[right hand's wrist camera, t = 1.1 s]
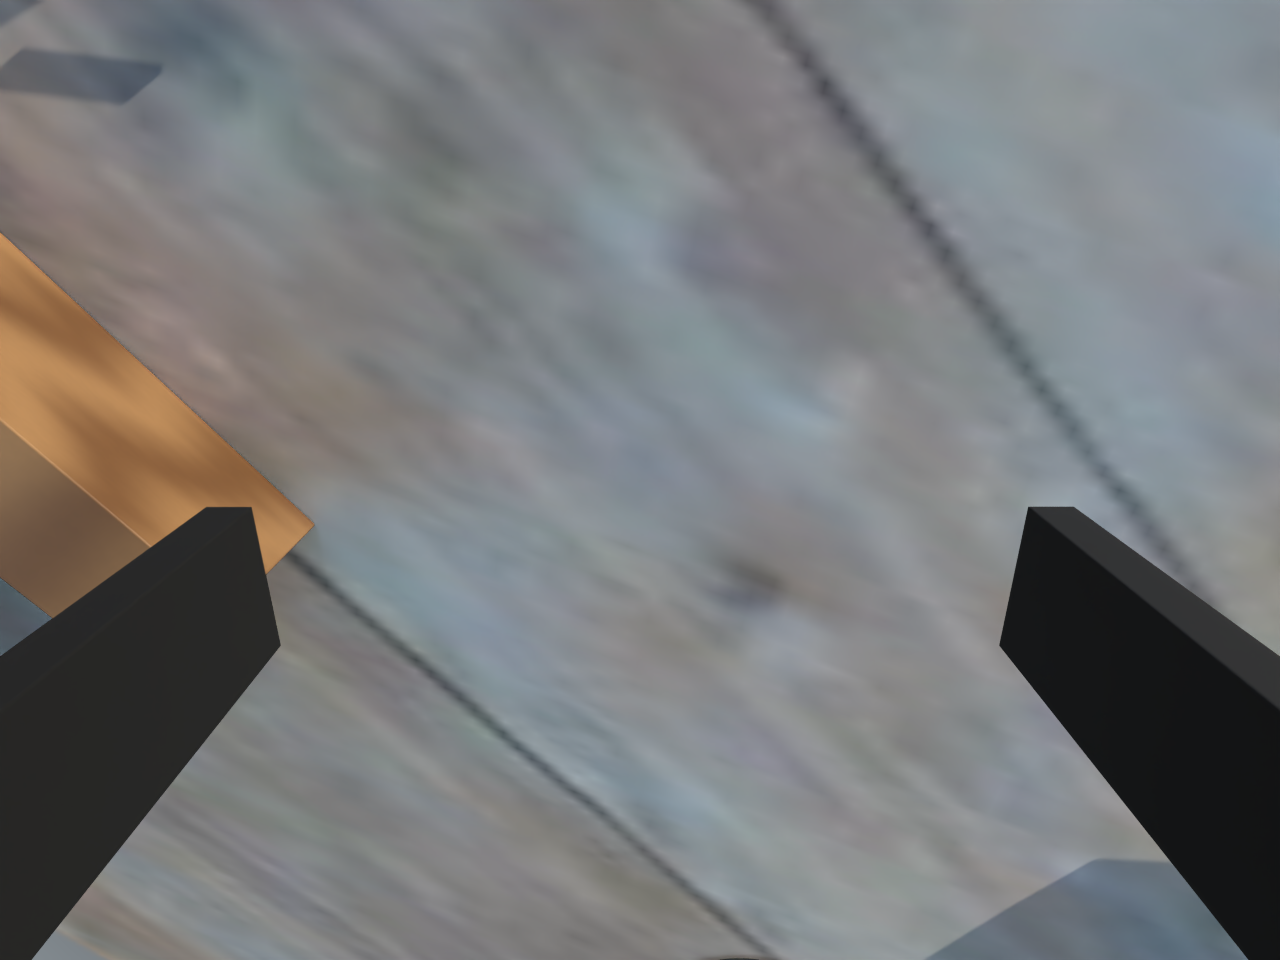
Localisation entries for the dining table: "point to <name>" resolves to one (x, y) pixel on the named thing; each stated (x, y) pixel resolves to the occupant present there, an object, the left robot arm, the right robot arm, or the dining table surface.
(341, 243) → the dining table surface
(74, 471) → the post
